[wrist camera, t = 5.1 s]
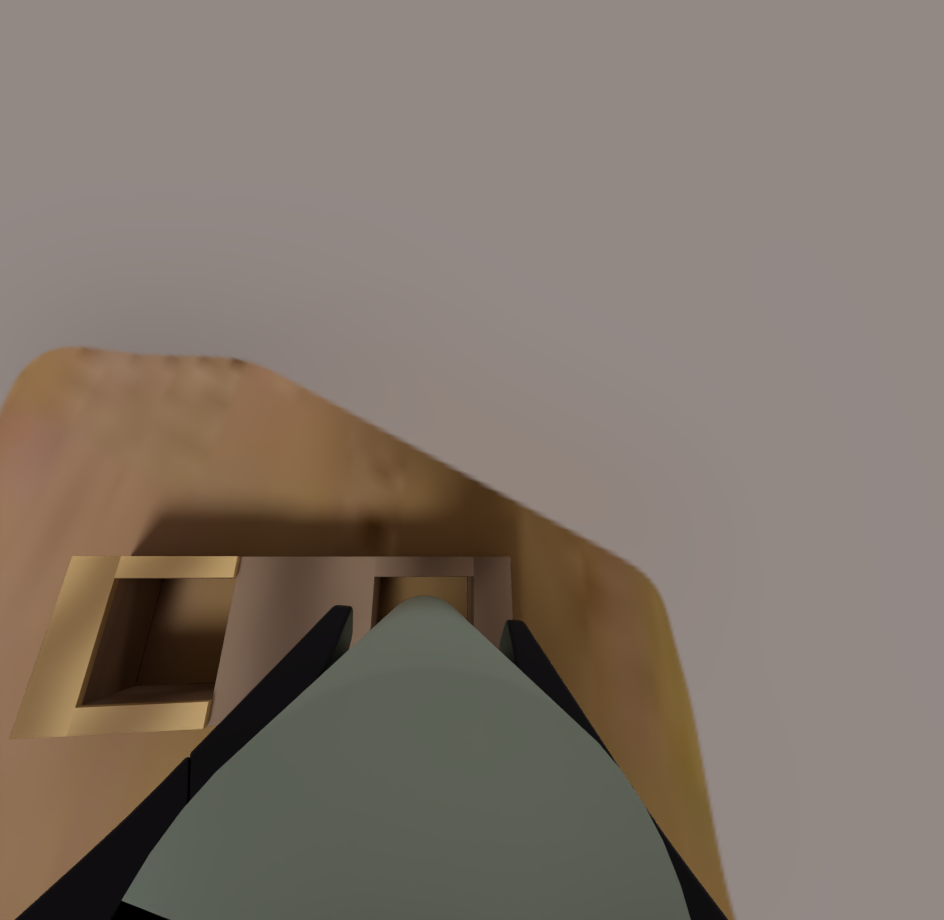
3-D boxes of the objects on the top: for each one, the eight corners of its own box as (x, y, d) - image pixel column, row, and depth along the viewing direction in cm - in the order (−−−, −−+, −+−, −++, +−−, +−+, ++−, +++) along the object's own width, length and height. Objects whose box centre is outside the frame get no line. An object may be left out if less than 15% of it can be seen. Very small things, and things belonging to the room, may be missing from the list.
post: (454, 705, 14) (708, 1775, 1) (363, 682, 14) (-207, 1641, 1) (476, 607, 15) (714, 734, 3) (393, 585, 15) (244, 612, 3)
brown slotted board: (499, 559, 22) (511, 556, 19) (503, 691, 20) (518, 711, 17) (127, 559, 20) (72, 555, 17) (82, 711, 17) (9, 739, 14)
